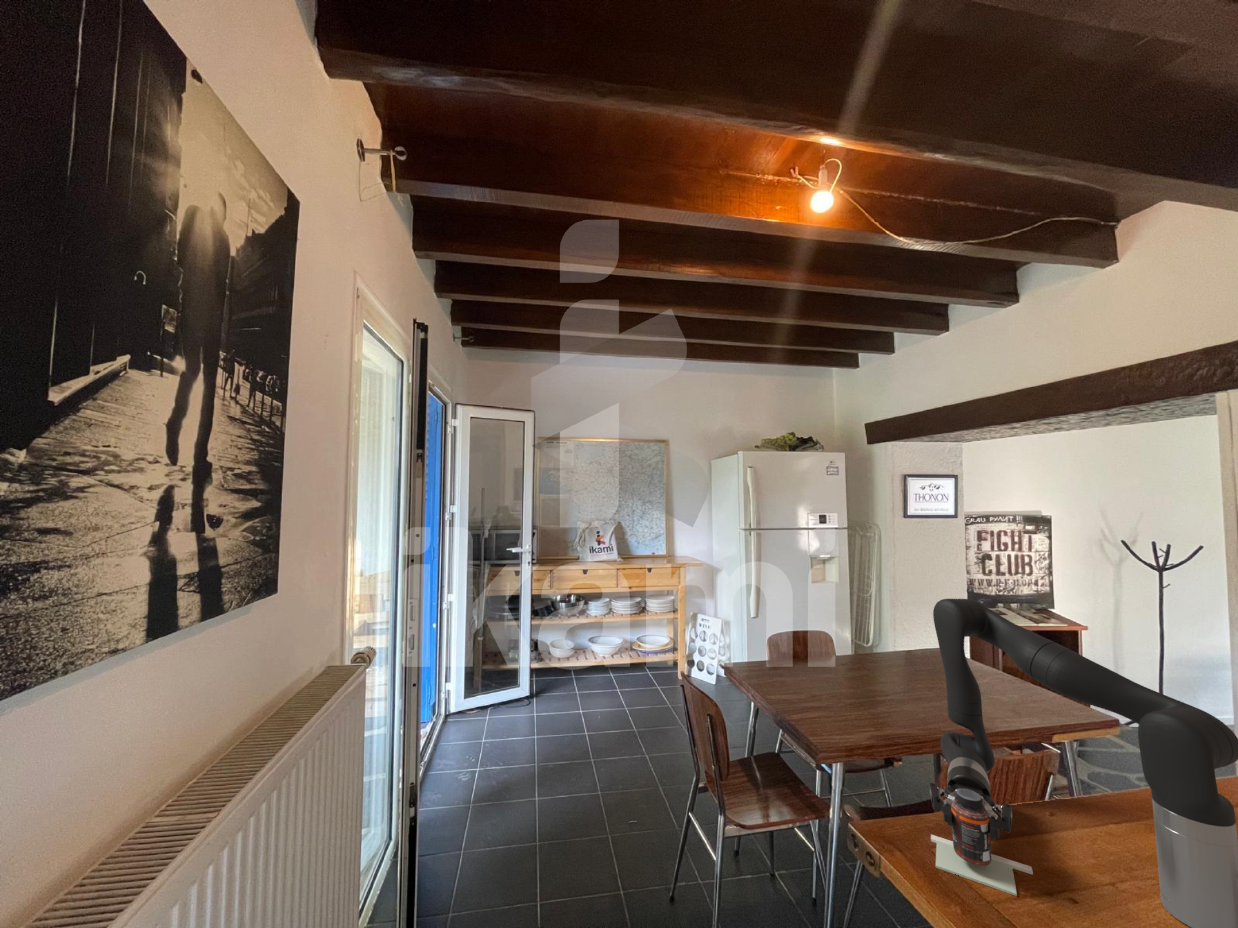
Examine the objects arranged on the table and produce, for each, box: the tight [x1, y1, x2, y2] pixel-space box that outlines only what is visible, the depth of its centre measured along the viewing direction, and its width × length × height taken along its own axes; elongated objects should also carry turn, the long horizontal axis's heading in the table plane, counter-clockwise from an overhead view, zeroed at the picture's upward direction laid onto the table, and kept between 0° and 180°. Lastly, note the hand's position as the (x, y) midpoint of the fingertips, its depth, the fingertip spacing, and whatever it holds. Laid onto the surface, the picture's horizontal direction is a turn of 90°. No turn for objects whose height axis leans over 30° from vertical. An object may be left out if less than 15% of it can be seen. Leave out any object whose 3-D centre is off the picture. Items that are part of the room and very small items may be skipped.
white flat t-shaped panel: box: [930, 834, 1034, 897], centre depth 92 cm, size 16×10×1 cm, turn 56°
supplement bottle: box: [951, 789, 992, 866], centre depth 93 cm, size 6×6×11 cm
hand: (970, 827), depth 91 cm, fingers closed on supplement bottle, 6 cm apart
